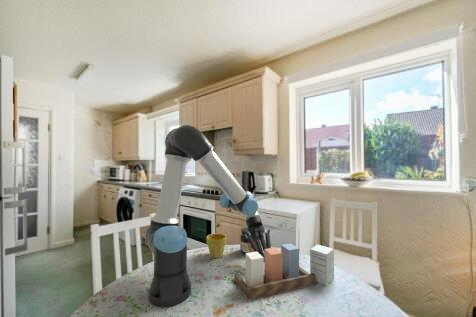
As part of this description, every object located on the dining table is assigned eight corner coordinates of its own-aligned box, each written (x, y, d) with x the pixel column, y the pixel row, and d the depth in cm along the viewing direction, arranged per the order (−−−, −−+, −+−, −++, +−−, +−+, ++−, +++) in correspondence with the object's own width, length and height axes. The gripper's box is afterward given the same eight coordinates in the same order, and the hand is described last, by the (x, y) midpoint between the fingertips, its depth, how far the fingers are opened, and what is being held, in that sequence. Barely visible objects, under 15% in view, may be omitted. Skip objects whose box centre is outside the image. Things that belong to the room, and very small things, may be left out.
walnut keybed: (248, 300, 76) (248, 289, 76) (234, 279, 90) (234, 269, 90) (315, 284, 86) (315, 274, 86) (294, 267, 100) (294, 259, 100)
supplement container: (242, 257, 111) (242, 233, 111) (237, 249, 121) (237, 227, 121) (262, 255, 113) (262, 232, 114) (255, 247, 124) (255, 226, 124)
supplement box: (317, 272, 96) (317, 243, 96) (334, 279, 90) (334, 248, 91) (309, 279, 91) (309, 248, 91) (327, 286, 85) (327, 254, 85)
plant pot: (202, 256, 112) (202, 237, 112) (215, 249, 120) (215, 232, 120) (217, 261, 106) (217, 241, 106) (230, 254, 114) (230, 235, 114)
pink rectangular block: (271, 285, 85) (271, 254, 85) (264, 277, 91) (264, 249, 91) (282, 283, 87) (282, 253, 87) (274, 275, 93) (274, 247, 93)
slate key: (288, 279, 90) (288, 250, 90) (281, 272, 95) (281, 244, 95) (299, 277, 91) (299, 248, 92) (291, 270, 97) (291, 243, 97)
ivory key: (251, 291, 81) (251, 259, 81) (245, 283, 87) (245, 253, 87) (263, 289, 83) (263, 257, 83) (256, 281, 88) (256, 251, 88)
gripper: (262, 222, 114) (278, 269, 98) (238, 224, 109) (252, 274, 93) (266, 214, 109) (285, 262, 93) (242, 216, 104) (257, 267, 88)
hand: (268, 268), depth 93 cm, fingers closed
